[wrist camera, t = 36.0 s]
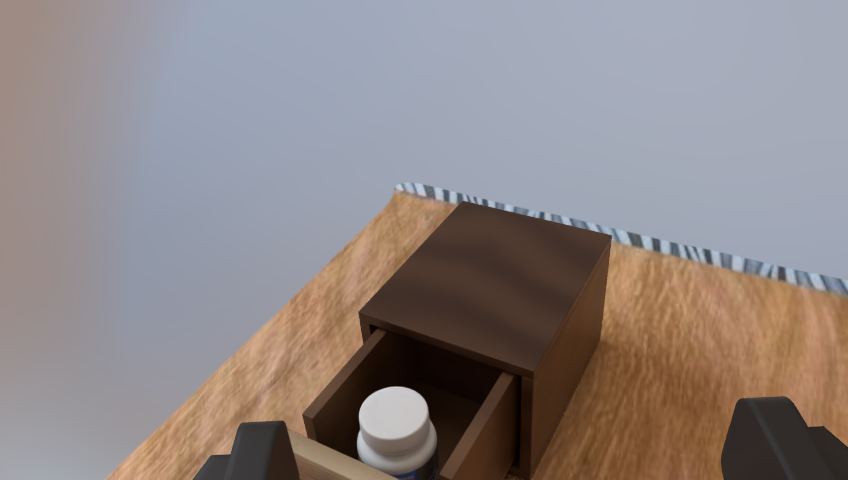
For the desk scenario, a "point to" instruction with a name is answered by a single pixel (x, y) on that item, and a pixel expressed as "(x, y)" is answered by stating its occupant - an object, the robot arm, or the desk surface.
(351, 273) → the desk surface
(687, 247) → the desk surface
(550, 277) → the cabinet
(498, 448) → the drawer
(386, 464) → the pill bottle
